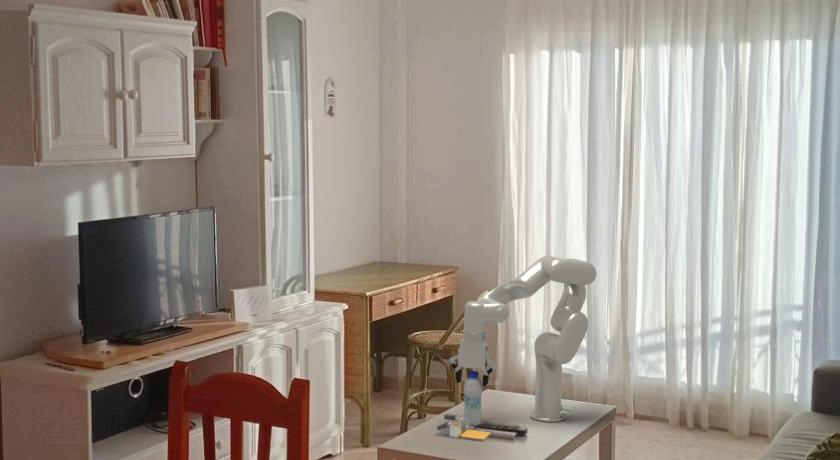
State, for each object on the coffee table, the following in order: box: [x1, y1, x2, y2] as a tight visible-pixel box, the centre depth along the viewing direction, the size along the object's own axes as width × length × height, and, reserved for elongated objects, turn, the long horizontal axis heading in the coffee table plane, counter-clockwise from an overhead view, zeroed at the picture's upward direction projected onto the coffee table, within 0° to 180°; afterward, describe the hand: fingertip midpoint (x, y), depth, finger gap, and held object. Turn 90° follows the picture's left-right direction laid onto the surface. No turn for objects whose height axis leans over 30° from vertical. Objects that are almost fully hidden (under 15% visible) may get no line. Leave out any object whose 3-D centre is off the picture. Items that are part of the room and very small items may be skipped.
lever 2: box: [443, 413, 461, 421], centre depth 359 cm, size 5×3×1 cm, turn 69°
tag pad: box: [460, 429, 492, 441], centre depth 353 cm, size 8×8×1 cm
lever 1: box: [436, 421, 453, 432], centre depth 352 cm, size 5×3×1 cm, turn 69°
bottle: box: [463, 370, 483, 427], centre depth 366 cm, size 7×7×20 cm
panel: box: [434, 416, 493, 443], centre depth 354 cm, size 17×13×6 cm
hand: (471, 383), depth 365 cm, fingers open, 9 cm apart
